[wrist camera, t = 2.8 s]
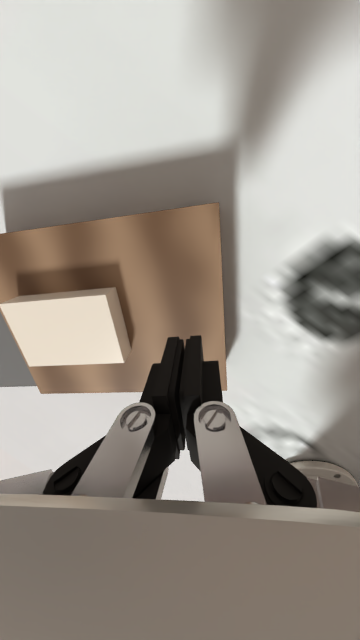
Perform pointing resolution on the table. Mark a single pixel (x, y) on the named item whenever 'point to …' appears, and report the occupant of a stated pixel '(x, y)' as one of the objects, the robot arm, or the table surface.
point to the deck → (127, 287)
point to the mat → (12, 361)
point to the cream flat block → (69, 327)
